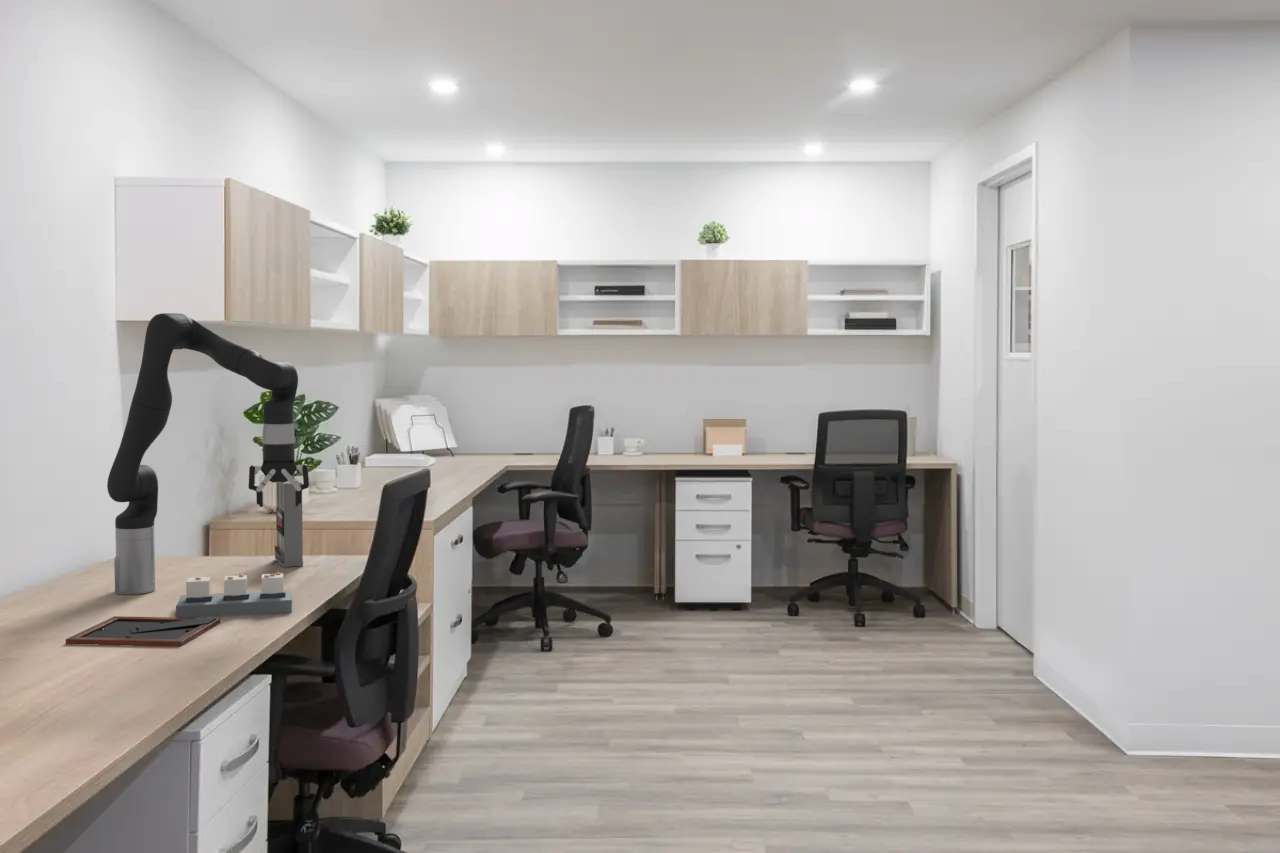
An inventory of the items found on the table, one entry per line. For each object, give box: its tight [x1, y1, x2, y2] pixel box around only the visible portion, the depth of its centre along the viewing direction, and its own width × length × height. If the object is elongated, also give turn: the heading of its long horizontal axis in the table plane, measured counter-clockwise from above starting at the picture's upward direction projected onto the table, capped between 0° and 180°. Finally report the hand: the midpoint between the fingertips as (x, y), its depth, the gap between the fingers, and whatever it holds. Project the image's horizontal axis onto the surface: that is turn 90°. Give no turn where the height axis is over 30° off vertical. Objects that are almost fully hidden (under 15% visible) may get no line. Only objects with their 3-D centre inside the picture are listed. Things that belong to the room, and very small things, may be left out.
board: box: [175, 589, 293, 618], centre depth 256 cm, size 26×12×3 cm, turn 108°
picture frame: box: [65, 615, 221, 648], centre depth 234 cm, size 20×2×25 cm
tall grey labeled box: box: [274, 479, 304, 569], centre depth 314 cm, size 14×6×25 cm, turn 28°
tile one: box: [185, 576, 211, 598], centre depth 253 cm, size 5×5×5 cm
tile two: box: [223, 573, 248, 596], centre depth 256 cm, size 5×5×5 cm
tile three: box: [261, 571, 284, 594], centre depth 259 cm, size 5×5×5 cm
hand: (279, 506), depth 261 cm, fingers open, 8 cm apart
